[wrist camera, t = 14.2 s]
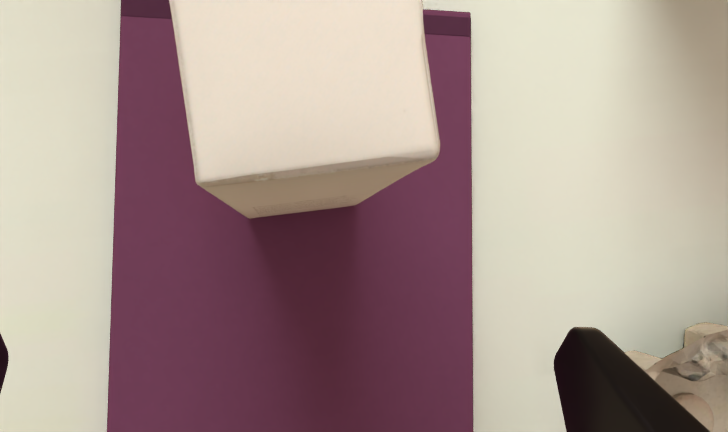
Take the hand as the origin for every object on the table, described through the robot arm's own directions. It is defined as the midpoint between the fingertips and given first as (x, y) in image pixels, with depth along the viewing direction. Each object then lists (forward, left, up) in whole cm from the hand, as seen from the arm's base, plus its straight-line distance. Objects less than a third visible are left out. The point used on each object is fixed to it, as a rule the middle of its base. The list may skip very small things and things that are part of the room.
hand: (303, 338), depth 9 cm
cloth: (+2, +1, -12) cm, 12 cm away
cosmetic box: (+4, +4, -12) cm, 13 cm away
